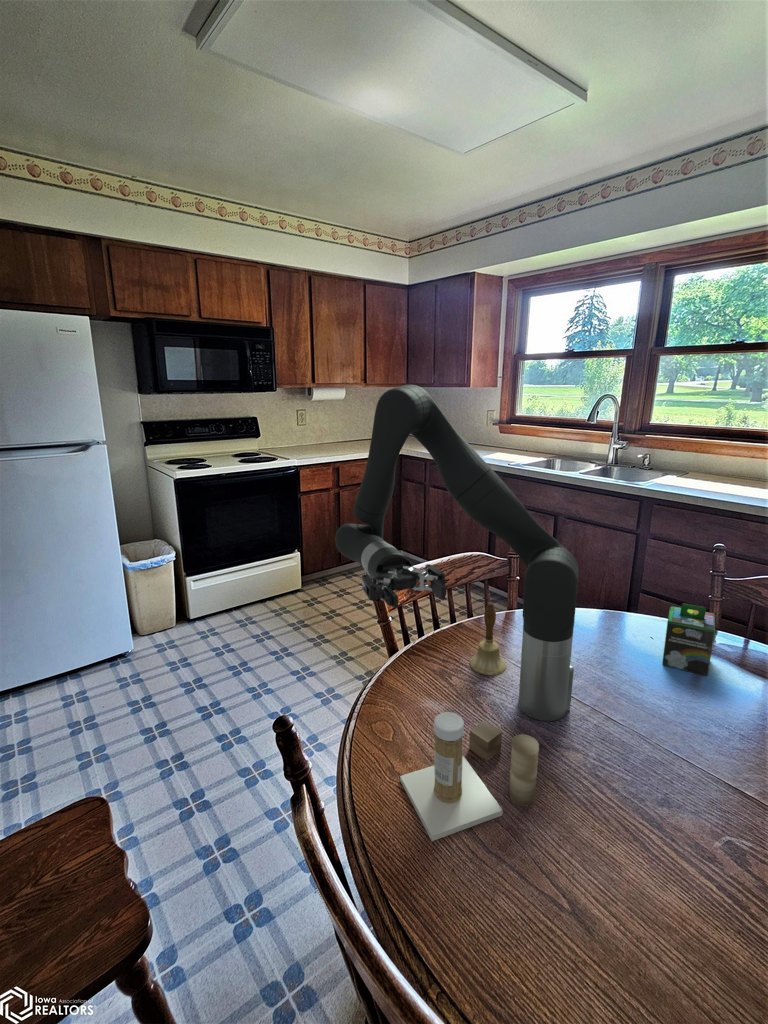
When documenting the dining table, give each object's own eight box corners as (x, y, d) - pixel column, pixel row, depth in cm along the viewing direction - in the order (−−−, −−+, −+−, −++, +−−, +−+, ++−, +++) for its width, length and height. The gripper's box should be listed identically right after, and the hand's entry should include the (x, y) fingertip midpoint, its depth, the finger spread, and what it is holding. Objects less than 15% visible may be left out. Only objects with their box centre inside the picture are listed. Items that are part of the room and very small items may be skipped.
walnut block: (483, 738, 92) (484, 720, 91) (500, 750, 89) (502, 731, 88) (469, 749, 90) (469, 730, 89) (486, 761, 87) (487, 742, 86)
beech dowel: (524, 782, 82) (528, 731, 79) (540, 801, 78) (544, 748, 76) (504, 790, 81) (507, 738, 78) (518, 809, 77) (522, 755, 74)
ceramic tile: (463, 760, 87) (463, 756, 87) (502, 815, 76) (502, 810, 76) (400, 780, 83) (400, 775, 83) (431, 841, 72) (431, 835, 72)
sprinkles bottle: (468, 794, 79) (470, 722, 75) (446, 808, 76) (447, 735, 73) (449, 776, 82) (450, 707, 79) (427, 789, 80) (427, 718, 76)
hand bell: (511, 673, 112) (515, 609, 108) (476, 677, 111) (479, 612, 107) (498, 654, 120) (501, 593, 116) (465, 657, 119) (466, 596, 114)
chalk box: (708, 657, 117) (718, 600, 113) (708, 677, 109) (719, 616, 105) (663, 647, 121) (672, 591, 118) (660, 665, 114) (669, 606, 110)
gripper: (349, 551, 93) (379, 584, 78) (418, 541, 98) (459, 570, 83) (350, 588, 95) (380, 627, 80) (418, 577, 100) (458, 611, 85)
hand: (420, 598), depth 82 cm, fingers open, 8 cm apart
